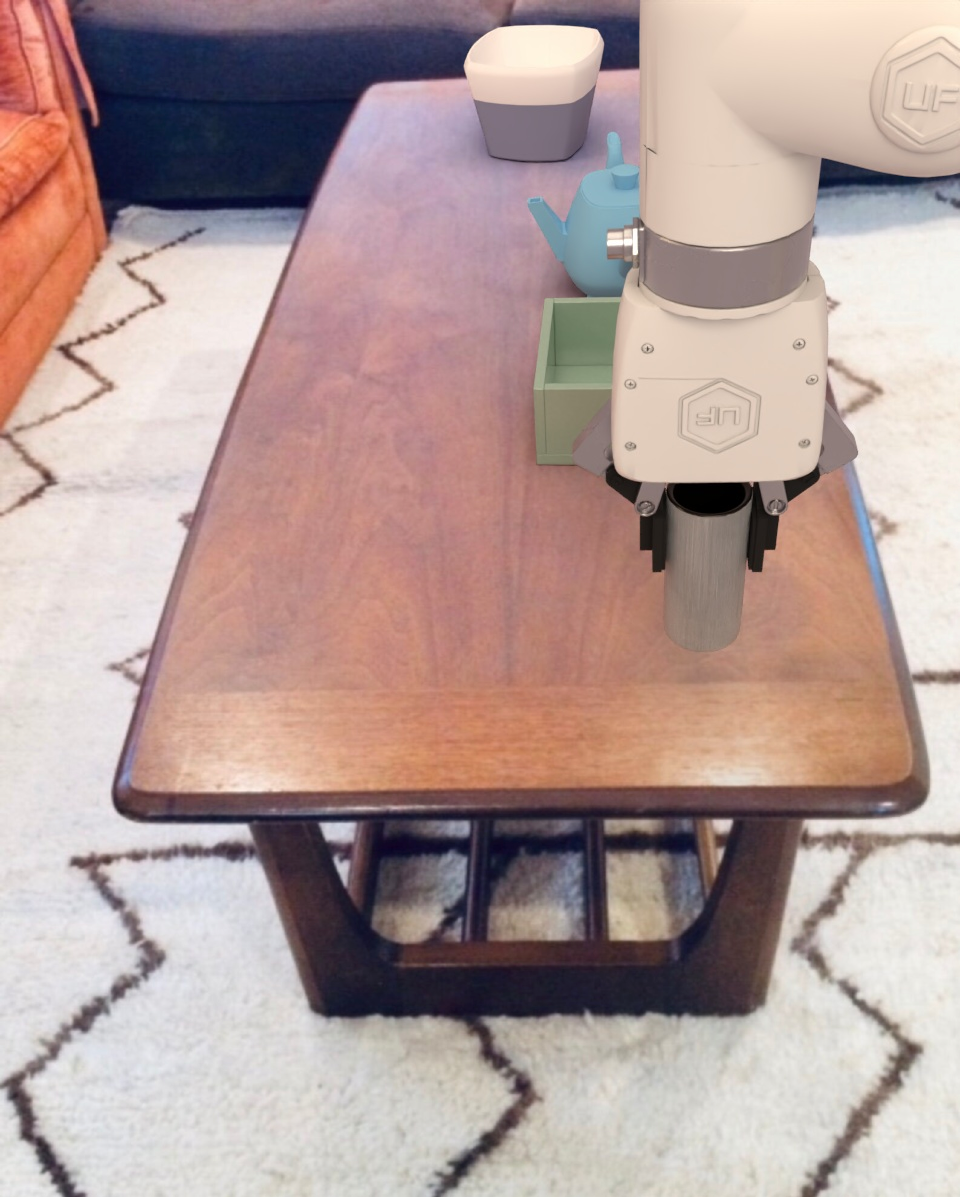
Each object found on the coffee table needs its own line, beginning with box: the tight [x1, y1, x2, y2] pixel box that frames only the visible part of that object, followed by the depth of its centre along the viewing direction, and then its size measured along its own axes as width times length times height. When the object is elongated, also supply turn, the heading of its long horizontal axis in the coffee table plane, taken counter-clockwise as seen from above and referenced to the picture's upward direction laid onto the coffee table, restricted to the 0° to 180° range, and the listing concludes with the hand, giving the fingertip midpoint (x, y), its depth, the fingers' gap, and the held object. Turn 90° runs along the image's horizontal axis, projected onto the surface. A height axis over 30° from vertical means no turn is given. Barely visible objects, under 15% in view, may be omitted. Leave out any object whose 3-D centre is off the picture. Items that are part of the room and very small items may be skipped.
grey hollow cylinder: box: [662, 482, 753, 653], centre depth 62 cm, size 4×4×10 cm
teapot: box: [526, 131, 640, 298], centre depth 102 cm, size 15×14×11 cm
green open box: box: [532, 297, 631, 466], centre depth 88 cm, size 14×14×7 cm
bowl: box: [463, 24, 605, 162], centre depth 128 cm, size 15×15×11 cm
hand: (705, 553), depth 61 cm, fingers closed on grey hollow cylinder, 4 cm apart
